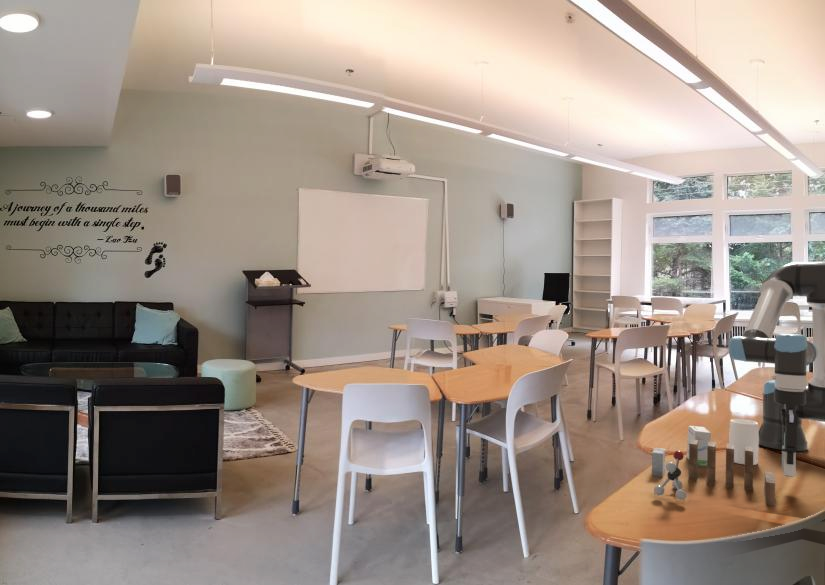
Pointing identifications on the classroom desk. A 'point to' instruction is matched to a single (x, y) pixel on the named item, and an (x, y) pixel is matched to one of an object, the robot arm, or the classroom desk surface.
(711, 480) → the domino
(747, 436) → the cup
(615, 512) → the classroom desk surface
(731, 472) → the domino
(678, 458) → the molecular model
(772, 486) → the domino
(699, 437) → the ink box
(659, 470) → the block
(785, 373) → the robot arm
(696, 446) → the domino
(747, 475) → the domino
